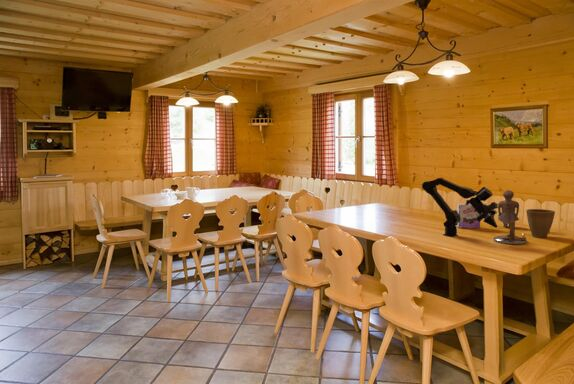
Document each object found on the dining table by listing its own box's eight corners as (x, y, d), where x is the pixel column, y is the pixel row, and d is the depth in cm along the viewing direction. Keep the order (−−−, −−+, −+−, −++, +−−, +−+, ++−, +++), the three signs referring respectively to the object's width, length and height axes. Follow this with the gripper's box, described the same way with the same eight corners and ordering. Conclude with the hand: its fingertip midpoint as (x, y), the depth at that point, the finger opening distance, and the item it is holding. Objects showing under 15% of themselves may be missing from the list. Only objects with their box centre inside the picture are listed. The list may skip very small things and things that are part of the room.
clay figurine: (519, 226, 287) (520, 190, 285) (518, 229, 279) (520, 191, 276) (497, 225, 294) (499, 189, 291) (496, 227, 285) (497, 190, 283)
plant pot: (559, 238, 251) (561, 211, 249) (537, 239, 249) (538, 213, 247) (541, 233, 266) (542, 208, 264) (519, 234, 263) (520, 209, 261)
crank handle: (505, 241, 239) (506, 221, 238) (499, 236, 251) (500, 217, 250) (529, 241, 236) (530, 222, 235) (522, 236, 249) (523, 218, 247)
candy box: (458, 228, 286) (459, 204, 284) (456, 226, 292) (457, 203, 290) (480, 228, 284) (480, 204, 282) (477, 227, 289) (478, 203, 287)
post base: (487, 240, 250) (487, 232, 249) (506, 237, 258) (506, 229, 257) (513, 246, 235) (514, 237, 234) (533, 242, 243) (533, 234, 242)
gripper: (484, 198, 240) (503, 220, 234) (494, 196, 253) (513, 217, 247) (468, 210, 246) (487, 232, 240) (480, 207, 260) (497, 228, 253)
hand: (496, 227), depth 245 cm, fingers closed
